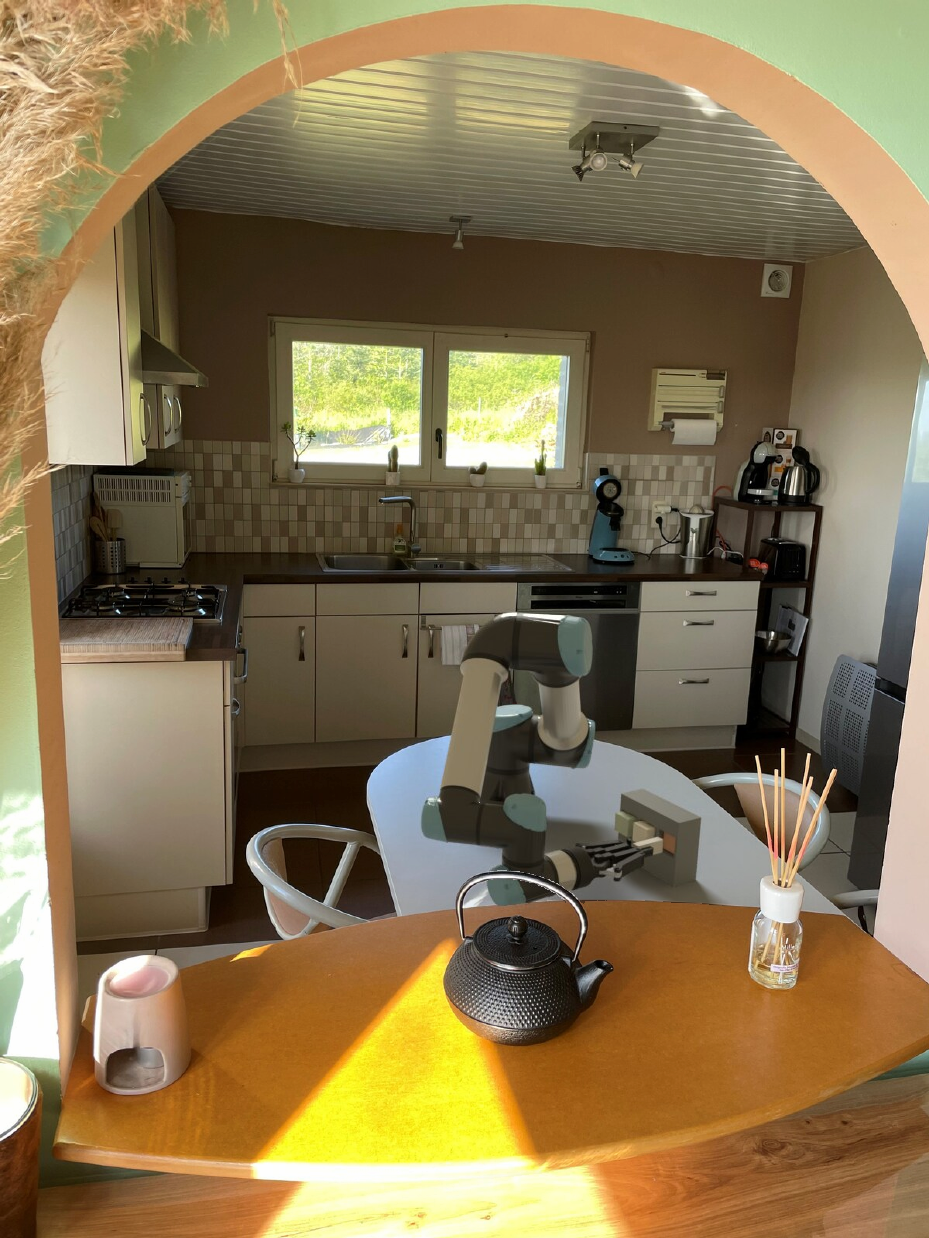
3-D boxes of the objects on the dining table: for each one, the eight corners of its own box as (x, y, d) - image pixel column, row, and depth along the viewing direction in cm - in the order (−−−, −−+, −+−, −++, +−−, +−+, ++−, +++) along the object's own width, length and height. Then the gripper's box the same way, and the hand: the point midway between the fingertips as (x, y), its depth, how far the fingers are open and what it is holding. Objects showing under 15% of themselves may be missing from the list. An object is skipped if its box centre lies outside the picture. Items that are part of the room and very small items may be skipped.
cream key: (632, 840, 190) (633, 822, 189) (647, 836, 192) (648, 818, 191) (645, 847, 186) (647, 829, 186) (660, 843, 188) (661, 826, 188)
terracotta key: (662, 847, 187) (664, 829, 186) (677, 843, 189) (678, 826, 188) (676, 855, 183) (678, 837, 183) (691, 851, 185) (693, 833, 185)
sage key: (614, 829, 194) (615, 812, 194) (628, 826, 196) (630, 809, 196) (627, 837, 191) (628, 819, 190) (641, 833, 193) (643, 816, 192)
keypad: (616, 855, 197) (621, 793, 195) (638, 849, 201) (642, 788, 198) (673, 889, 183) (679, 823, 181) (695, 882, 186) (701, 817, 184)
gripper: (543, 874, 177) (636, 849, 189) (586, 904, 166) (682, 875, 178) (545, 837, 175) (638, 814, 188) (589, 865, 165) (685, 839, 177)
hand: (660, 844), depth 183 cm, fingers closed
